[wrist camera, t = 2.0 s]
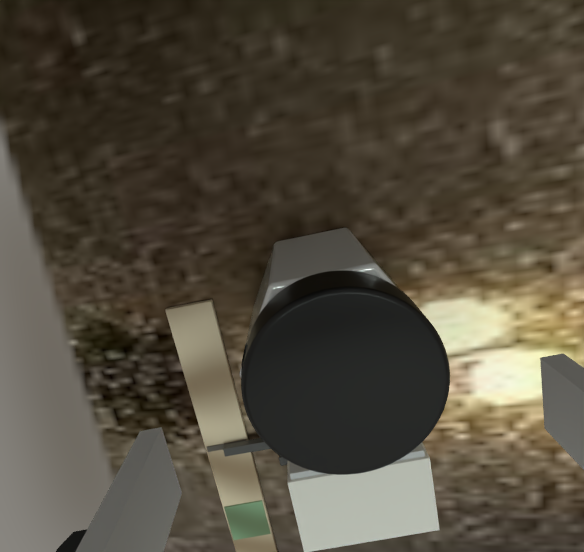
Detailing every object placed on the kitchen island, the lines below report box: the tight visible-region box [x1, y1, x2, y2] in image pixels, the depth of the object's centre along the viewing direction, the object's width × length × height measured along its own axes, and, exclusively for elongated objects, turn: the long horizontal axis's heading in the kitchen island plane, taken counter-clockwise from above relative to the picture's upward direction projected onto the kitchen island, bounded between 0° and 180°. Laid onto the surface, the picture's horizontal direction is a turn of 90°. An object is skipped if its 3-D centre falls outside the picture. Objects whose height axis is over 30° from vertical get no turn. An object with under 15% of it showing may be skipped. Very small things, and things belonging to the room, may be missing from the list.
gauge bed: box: [165, 299, 278, 552], centre depth 32 cm, size 24×3×1 cm, turn 11°
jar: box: [240, 228, 450, 475], centre depth 23 cm, size 9×8×12 cm
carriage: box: [223, 438, 439, 552], centre depth 28 cm, size 5×13×6 cm, turn 101°
